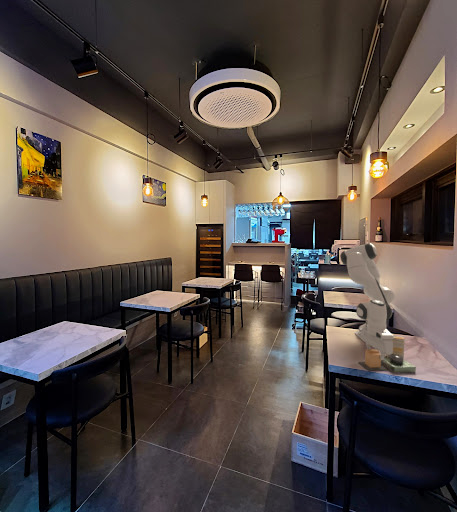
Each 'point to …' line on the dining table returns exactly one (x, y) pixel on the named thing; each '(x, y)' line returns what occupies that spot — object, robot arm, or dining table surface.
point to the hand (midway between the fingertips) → (375, 355)
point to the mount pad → (373, 367)
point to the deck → (398, 364)
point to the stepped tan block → (372, 358)
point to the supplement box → (398, 345)
